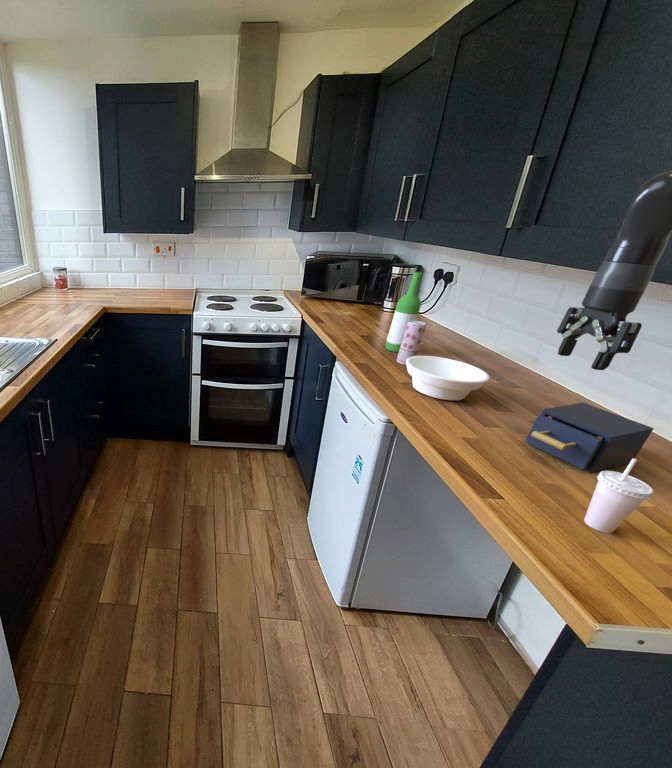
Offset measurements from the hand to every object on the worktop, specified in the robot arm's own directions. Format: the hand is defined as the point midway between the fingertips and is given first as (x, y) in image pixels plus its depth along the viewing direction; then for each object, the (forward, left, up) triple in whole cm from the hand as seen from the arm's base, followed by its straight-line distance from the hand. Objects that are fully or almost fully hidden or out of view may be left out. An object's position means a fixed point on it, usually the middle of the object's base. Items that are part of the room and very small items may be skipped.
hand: (579, 362), depth 86 cm
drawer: (-4, -2, -21) cm, 21 cm away
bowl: (+30, -5, -22) cm, 38 cm away
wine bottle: (+65, -25, -22) cm, 73 cm away
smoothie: (-21, +18, -22) cm, 36 cm away
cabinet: (-4, -8, -22) cm, 24 cm away
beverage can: (+53, -17, -22) cm, 60 cm away
